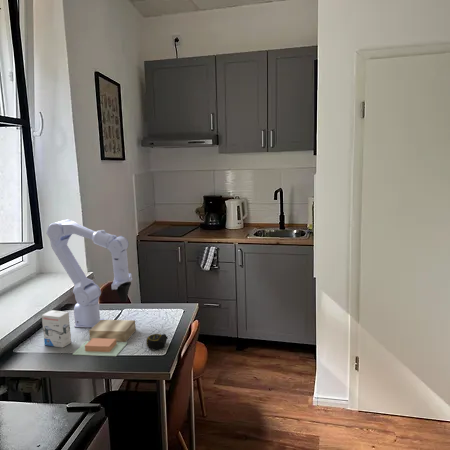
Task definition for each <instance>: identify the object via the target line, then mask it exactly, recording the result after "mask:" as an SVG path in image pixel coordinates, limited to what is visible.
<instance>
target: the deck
mask: <svg viewBox="0 0 450 450" xmlns="http://www.w3.org/2000/svg"><path fill="white" fill-rule="evenodd" d="M136 326H137V325H136V320H135V319H134V320H132V319H131V320H129V319H125V320H124V319H104V320H100V321H99V322H98V323H97V324H96V325H95V326H94V327H90V329H89V330H88V334H89V341H90V340H91V339H92V338H105V339H116V342H127V341H128V340H129V339H130V338H131V337H132V335H133V334H134V333H135V332H136V331H137V327H136Z"/></svg>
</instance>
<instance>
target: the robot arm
mask: <svg viewBox="0 0 450 450" xmlns="http://www.w3.org/2000/svg"><path fill="white" fill-rule="evenodd" d="M46 235H47V237H48V238H49V241H50V247H51V249H52V251H53V252H54V254H55V255H56V257H57V259H58V260H59V262H60V263H61V265H62V267H63V268H64V270H65V272H66V274H67V275H68V277H69V278H70V280H71V282H72V283H73V285H74V287H73V290H72V293H73V294H74V299H75V301H76V303H75V305H74V308H73V318H74V324H75V325H74V328H93V327H94V326H95V325H96V324H97V323H98V322H99V321H100V320H105V318H101V314H100V304H99V299H100V296H101V294H102V290H101V288H100V286H99V285H98V284H97V283H95V281H94V280H93V279H91V278H88V277H87V275H86V274H85V272H84V270H83V269H82V268H81V265H80V263H79V262H78V261H77V259H76V258H75V255H74V254H73V252H72V250H71V248H69V246H68V243H69V240H70V239H71V237H72V235H76V236H78V237H83V238H85V239H89V240H91V241H92V242H93V244H94V245H97V246H99V247H102V248H105V249H106V250H108V251H109V253H110V255H111V260H112V268H113V269H112V271H113V281H112V283H111V290H115V291H116V293H117V295H118V298H119V301H120V302H121V303H122V302H124V303H126V302H127V301H128V297H129V291H130V287H131V285H132V282H131V281H133V277H132V276H133V274H132V273H131V272H130V273H129V262H128V261H129V259H128V252H127V250H128V248H129V245H130V244H129V240H128V238H126V237H125V236H123V235H119V236H117V235H116V234H111V233H108V232H106V230H105V229H100V230H96V231H95V230H93V229H90V228H88V227H86V226H84V225H82V224H79V223H78V222H76V221H75V220H71V219H70V218H69V219H67V218H66V219H63V220H60V221H55V222H51V223H50V224H49V225H48V227H47V230H46Z"/></svg>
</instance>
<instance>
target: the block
mask: <svg viewBox="0 0 450 450" xmlns="http://www.w3.org/2000/svg"><path fill="white" fill-rule="evenodd" d="M88 341H89V342H88V343H87V344H86V345H85V351H98V352H110V351H111V350H112V349H113V347H114V346H115V345H116V344H117V343H116V342H117V341H116V339H105V338H92V339H91V340H90V339H89V340H88Z"/></svg>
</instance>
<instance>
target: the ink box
mask: <svg viewBox="0 0 450 450" xmlns="http://www.w3.org/2000/svg"><path fill="white" fill-rule="evenodd" d="M41 322H42V323H41V325H42V331H43V343H44V345H45V346H50V347H56V348H64V347H67V346H68V345H70V344H71V343H72V337H71V336H72V333H71V323H70V315H69V312H68V311H61V310H53V309H52V310H48V311H47V312H45V313H43V314H41Z"/></svg>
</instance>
